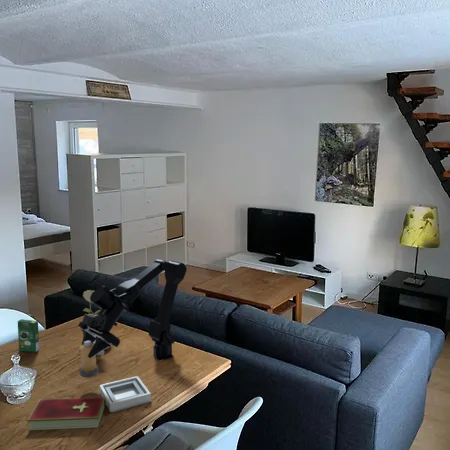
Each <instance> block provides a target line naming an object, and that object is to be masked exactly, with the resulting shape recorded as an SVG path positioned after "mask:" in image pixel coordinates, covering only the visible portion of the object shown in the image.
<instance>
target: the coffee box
mask: <svg viewBox="0 0 450 450" xmlns="http://www.w3.org/2000/svg"><path fill="white" fill-rule="evenodd" d="M17 334H18V335H17V336H18V351H19V352H27V353H37V352H39V351H40V337H39V335H40V334H39V320H31V319H20V320H17Z"/></svg>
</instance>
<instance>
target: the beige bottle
mask: <svg viewBox="0 0 450 450" xmlns="http://www.w3.org/2000/svg"><path fill="white" fill-rule="evenodd" d="M81 344H82V343H81ZM81 344H80V346H79V348H80V352H81V353H80V363H81V364H80V366H81V367H79V369H78V370H79V372H78V373H79V376H80V377H82V378H92V377H94V376H97V375H98V374H99V372H100V371H99V366H98V365H97V357H96V356H97V355H94V356H93V357H91V358H89V357H88V355H89V353H90V351H91V349H92V348H93V346H94V344H93V343H91V341H89V340H88V341H84V344H82V345H81Z"/></svg>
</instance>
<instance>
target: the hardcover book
mask: <svg viewBox="0 0 450 450" xmlns="http://www.w3.org/2000/svg"><path fill="white" fill-rule="evenodd" d="M105 408H107V405H106V399H105V397H102V396H100V397H99V396H98V397H79V398H76V397H73V398H71V397H70V398H51V399H50V398H49V399H39V400H38V401H37V403H36V405H35V406H34V408H33V409H32V411H31V413H30V415H29V417H28V418H27V420H26V422H28V424H29V431H40V430H41V431H42V430H65V429H67V430H68V429H69V430H70V429H93V428H95V429H96V428H99V426H100V423H101V419H102V416H103V412H104V410H105Z"/></svg>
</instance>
